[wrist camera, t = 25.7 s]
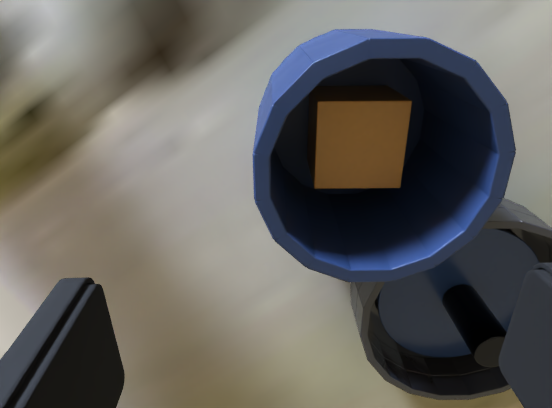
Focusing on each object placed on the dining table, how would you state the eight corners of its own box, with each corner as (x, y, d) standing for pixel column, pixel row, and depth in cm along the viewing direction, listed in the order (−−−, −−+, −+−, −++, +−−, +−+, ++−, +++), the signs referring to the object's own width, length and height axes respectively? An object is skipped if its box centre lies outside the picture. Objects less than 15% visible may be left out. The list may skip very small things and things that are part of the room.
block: (309, 85, 23) (317, 101, 19) (387, 85, 23) (412, 100, 19) (307, 160, 25) (314, 189, 21) (379, 160, 25) (400, 188, 21)
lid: (383, 219, 27) (412, 273, 21) (553, 218, 27) (626, 271, 21) (367, 347, 31) (388, 418, 26) (511, 346, 31) (562, 416, 26)
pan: (358, 193, 26) (372, 222, 23) (580, 191, 26) (629, 220, 23) (343, 358, 32) (352, 401, 29) (523, 356, 33) (554, 398, 29)
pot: (257, 29, 22) (248, 38, 14) (446, 28, 22) (546, 36, 14) (261, 201, 26) (256, 283, 18) (418, 200, 26) (482, 281, 18)
